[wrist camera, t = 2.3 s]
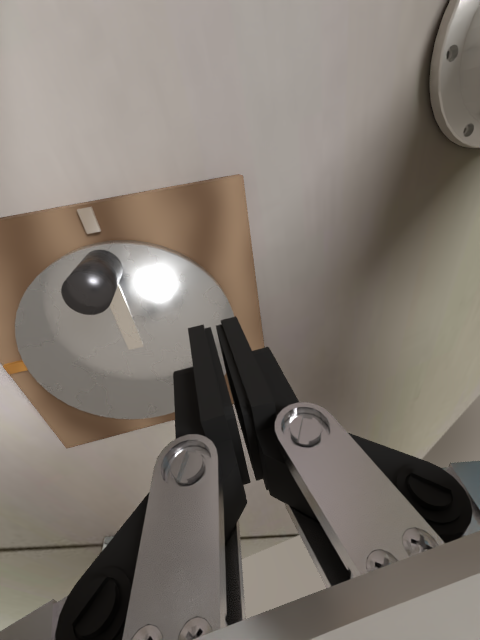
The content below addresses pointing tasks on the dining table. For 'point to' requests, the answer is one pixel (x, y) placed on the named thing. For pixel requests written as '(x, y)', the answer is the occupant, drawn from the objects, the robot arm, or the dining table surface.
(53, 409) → the dial base
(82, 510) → the dining table surface
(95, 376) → the dial
